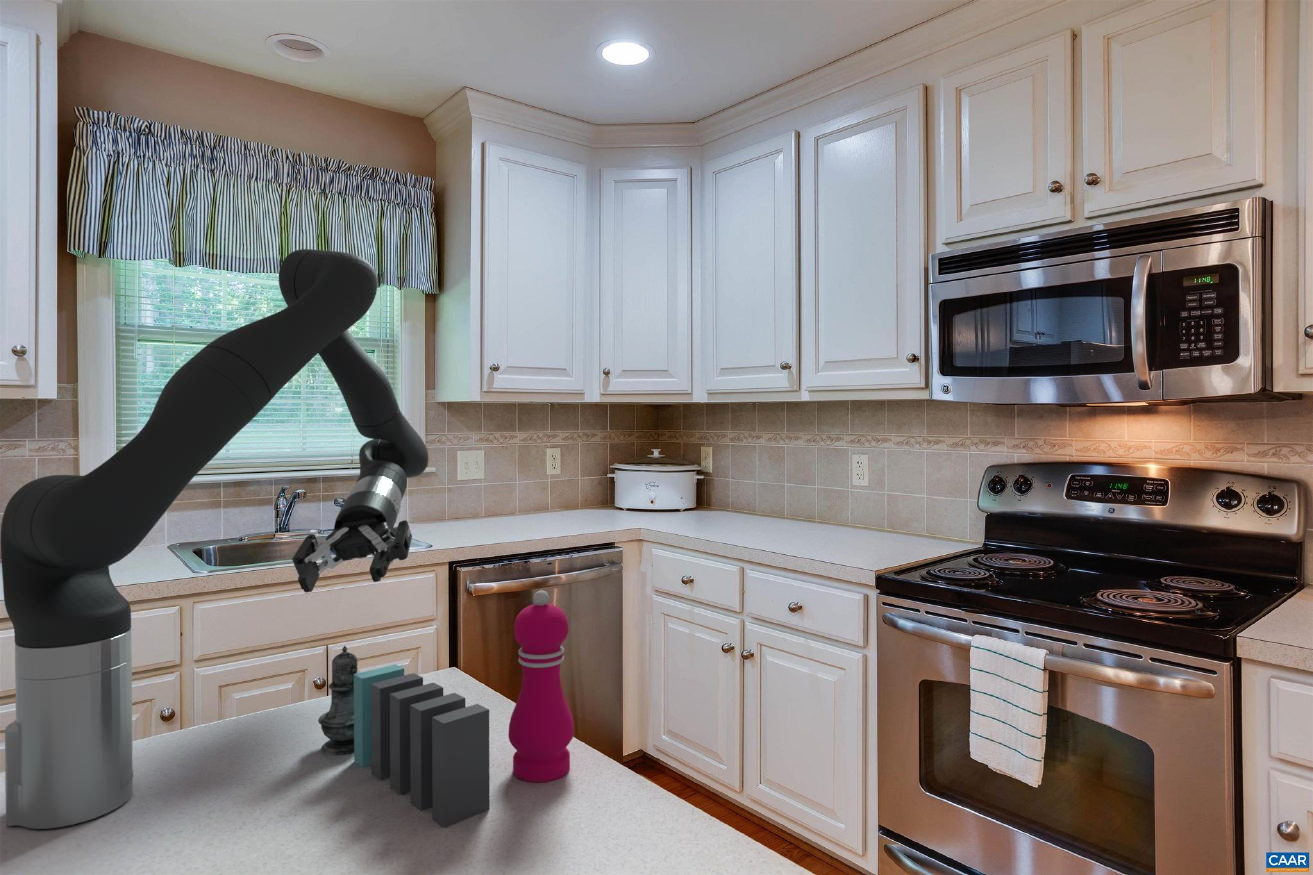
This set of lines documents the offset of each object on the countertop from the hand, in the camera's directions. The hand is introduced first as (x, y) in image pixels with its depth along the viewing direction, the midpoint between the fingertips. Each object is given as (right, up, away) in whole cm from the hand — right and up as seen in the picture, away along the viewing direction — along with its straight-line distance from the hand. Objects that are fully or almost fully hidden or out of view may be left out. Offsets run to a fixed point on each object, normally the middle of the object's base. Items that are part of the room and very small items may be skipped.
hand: (340, 581), depth 93 cm
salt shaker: (+2, -19, -4) cm, 20 cm away
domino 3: (+14, -19, -13) cm, 27 cm away
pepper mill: (+27, -19, -10) cm, 34 cm away
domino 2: (+11, -19, -10) cm, 24 cm away
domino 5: (+20, -19, -19) cm, 34 cm away
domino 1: (+7, -19, -7) cm, 21 cm away
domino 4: (+17, -19, -16) cm, 30 cm away
